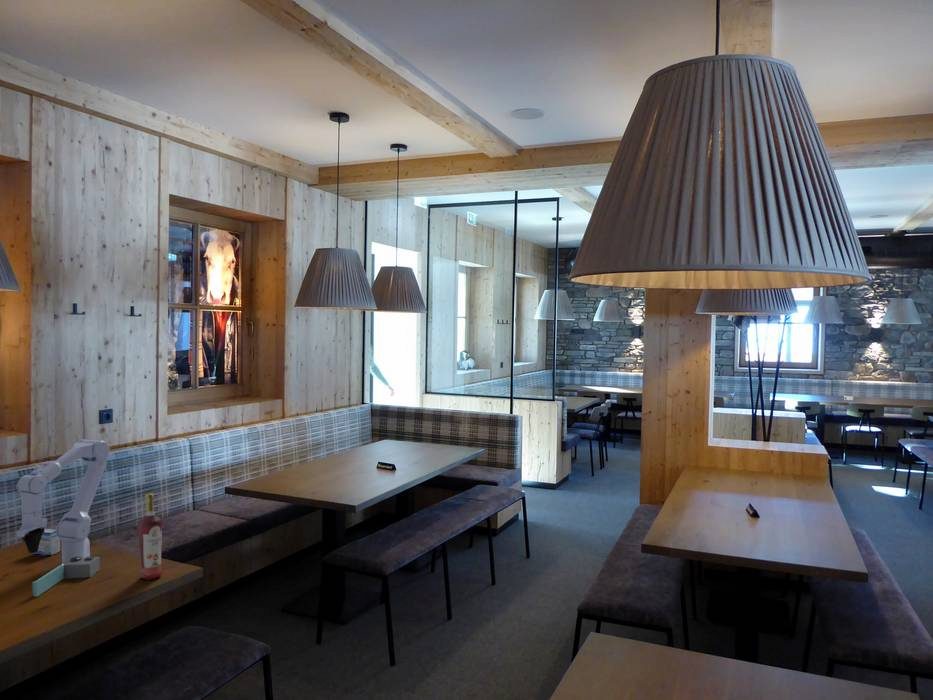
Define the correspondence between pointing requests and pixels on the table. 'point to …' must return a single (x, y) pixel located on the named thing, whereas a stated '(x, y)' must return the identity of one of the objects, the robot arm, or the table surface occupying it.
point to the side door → (48, 580)
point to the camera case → (81, 567)
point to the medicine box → (49, 543)
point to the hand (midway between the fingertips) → (33, 552)
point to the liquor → (150, 541)
